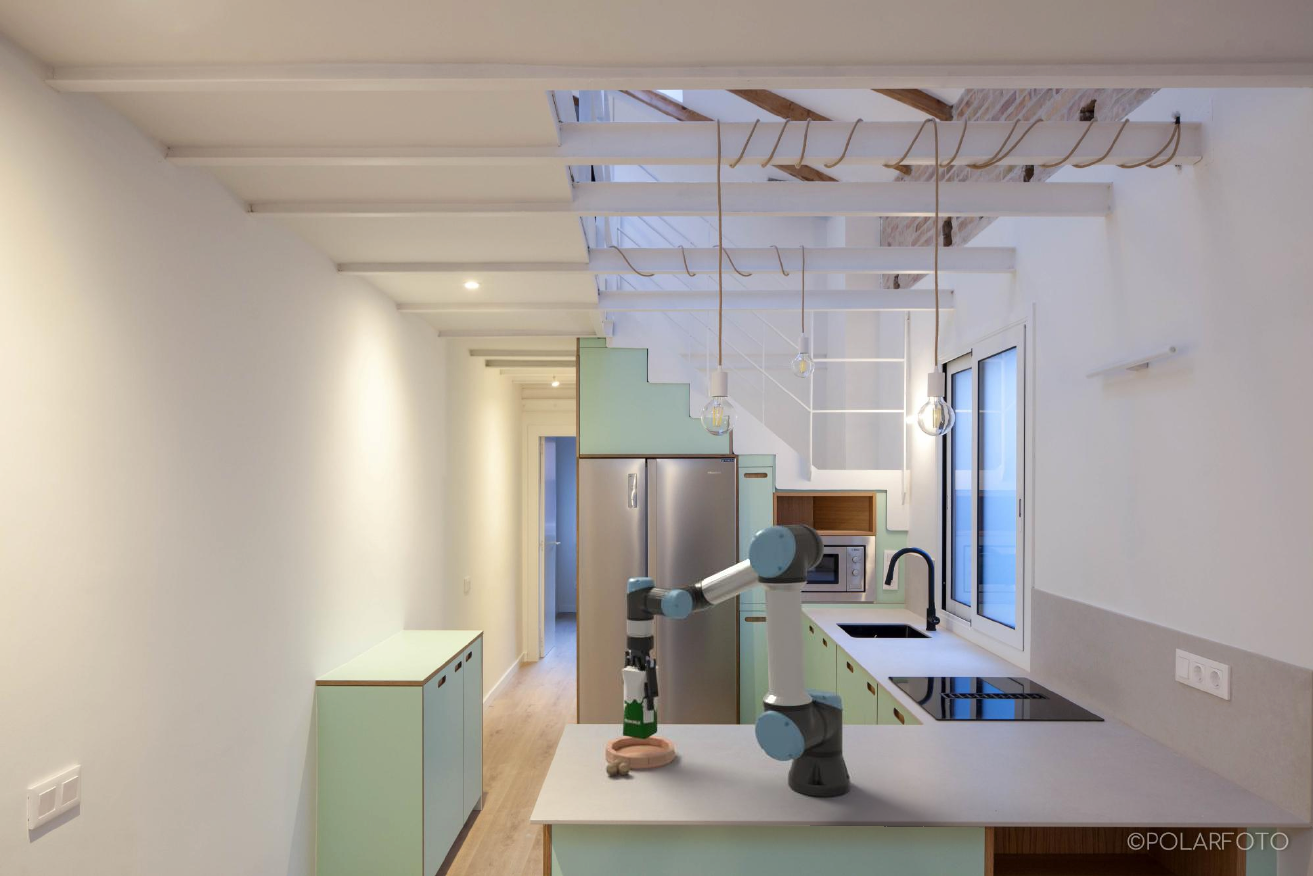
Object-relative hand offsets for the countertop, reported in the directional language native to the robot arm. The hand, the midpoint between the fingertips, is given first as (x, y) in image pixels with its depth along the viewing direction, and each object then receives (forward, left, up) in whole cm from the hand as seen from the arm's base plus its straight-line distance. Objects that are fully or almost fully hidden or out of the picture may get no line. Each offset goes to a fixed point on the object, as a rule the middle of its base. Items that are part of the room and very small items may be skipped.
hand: (640, 717), depth 226 cm
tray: (0, 0, -11) cm, 11 cm away
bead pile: (-9, +11, -11) cm, 18 cm away
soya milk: (0, 0, -5) cm, 5 cm away
